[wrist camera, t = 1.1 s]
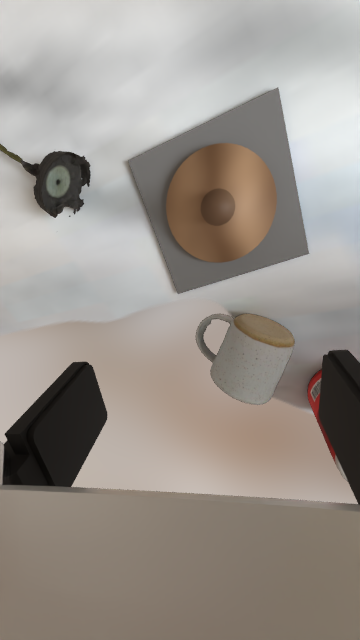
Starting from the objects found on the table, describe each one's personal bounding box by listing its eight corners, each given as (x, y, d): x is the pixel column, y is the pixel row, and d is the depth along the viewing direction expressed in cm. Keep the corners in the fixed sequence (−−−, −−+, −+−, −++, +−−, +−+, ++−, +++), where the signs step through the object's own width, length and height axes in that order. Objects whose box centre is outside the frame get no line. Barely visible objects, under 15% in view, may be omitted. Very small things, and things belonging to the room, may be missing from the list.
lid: (260, 123, 24) (271, 95, 18) (285, 241, 27) (301, 250, 21) (152, 173, 27) (131, 163, 21) (188, 273, 30) (178, 289, 24)
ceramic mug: (291, 321, 31) (309, 353, 24) (266, 374, 35) (275, 416, 28) (207, 296, 32) (200, 320, 25) (190, 351, 35) (180, 385, 28)
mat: (276, 90, 23) (278, 87, 22) (307, 252, 28) (308, 253, 27) (130, 161, 27) (128, 160, 27) (178, 292, 32) (178, 294, 31)
